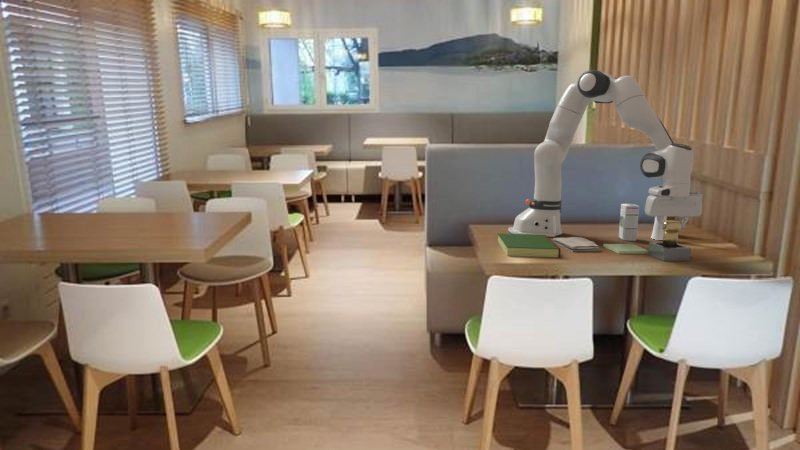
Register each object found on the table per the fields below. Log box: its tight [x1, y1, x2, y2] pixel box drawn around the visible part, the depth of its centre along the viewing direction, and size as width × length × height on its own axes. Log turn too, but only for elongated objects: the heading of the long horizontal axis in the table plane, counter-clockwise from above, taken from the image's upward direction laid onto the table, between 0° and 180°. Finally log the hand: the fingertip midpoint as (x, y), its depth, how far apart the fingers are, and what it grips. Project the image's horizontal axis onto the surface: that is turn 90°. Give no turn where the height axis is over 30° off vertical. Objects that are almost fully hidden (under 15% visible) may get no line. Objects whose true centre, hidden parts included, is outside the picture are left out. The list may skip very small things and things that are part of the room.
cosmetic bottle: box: [650, 216, 667, 241], centre depth 244 cm, size 6×6×22 cm
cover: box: [662, 220, 682, 245], centre depth 212 cm, size 6×6×8 cm
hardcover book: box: [497, 232, 561, 258], centre depth 221 cm, size 25×19×4 cm
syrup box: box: [617, 203, 640, 242], centre depth 243 cm, size 6×6×14 cm
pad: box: [602, 243, 649, 255], centre depth 224 cm, size 12×12×1 cm
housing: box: [647, 241, 692, 262], centre depth 214 cm, size 10×10×4 cm
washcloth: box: [551, 236, 601, 253], centre depth 228 cm, size 12×18×3 cm, turn 12°
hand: (671, 228), depth 212 cm, fingers closed on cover, 6 cm apart
